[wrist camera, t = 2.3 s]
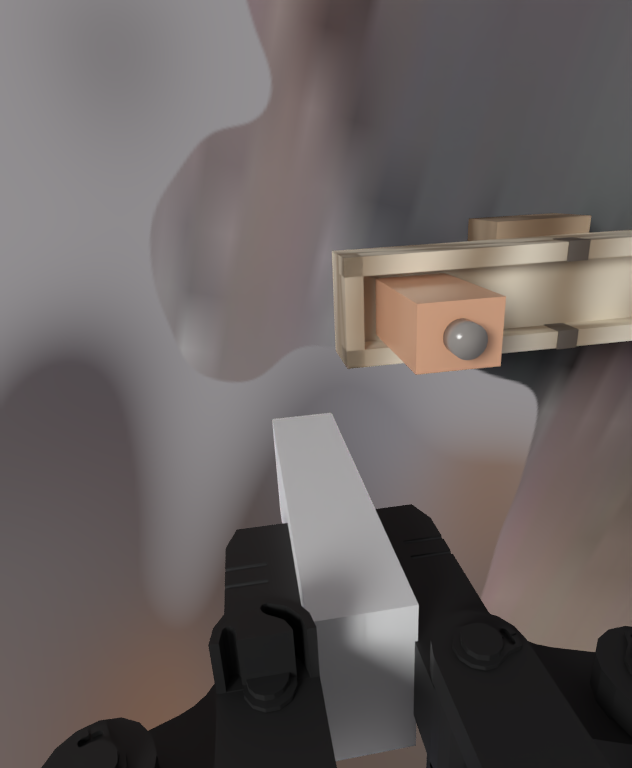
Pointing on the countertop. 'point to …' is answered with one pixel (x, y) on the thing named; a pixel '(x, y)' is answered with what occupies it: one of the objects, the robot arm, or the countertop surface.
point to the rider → (440, 322)
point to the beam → (502, 283)
